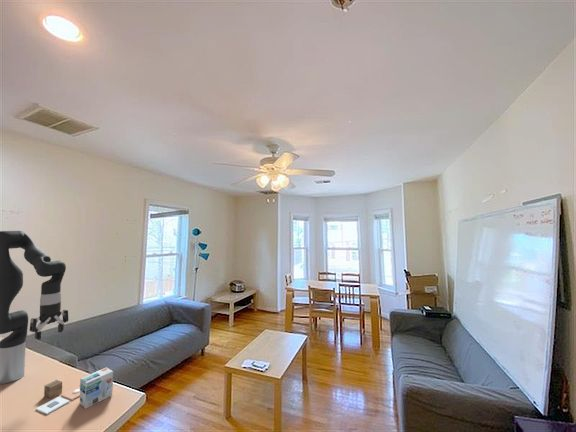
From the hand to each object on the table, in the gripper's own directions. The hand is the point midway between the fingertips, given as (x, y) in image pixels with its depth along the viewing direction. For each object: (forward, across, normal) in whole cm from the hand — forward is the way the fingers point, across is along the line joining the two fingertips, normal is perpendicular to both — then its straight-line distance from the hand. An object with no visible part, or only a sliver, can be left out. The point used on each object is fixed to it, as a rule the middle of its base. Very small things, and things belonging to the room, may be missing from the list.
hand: (49, 335), depth 123 cm
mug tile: (+24, -2, +19) cm, 31 cm away
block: (+24, +3, +10) cm, 26 cm away
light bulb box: (+24, -2, +32) cm, 40 cm away
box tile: (+24, +8, +19) cm, 32 cm away
